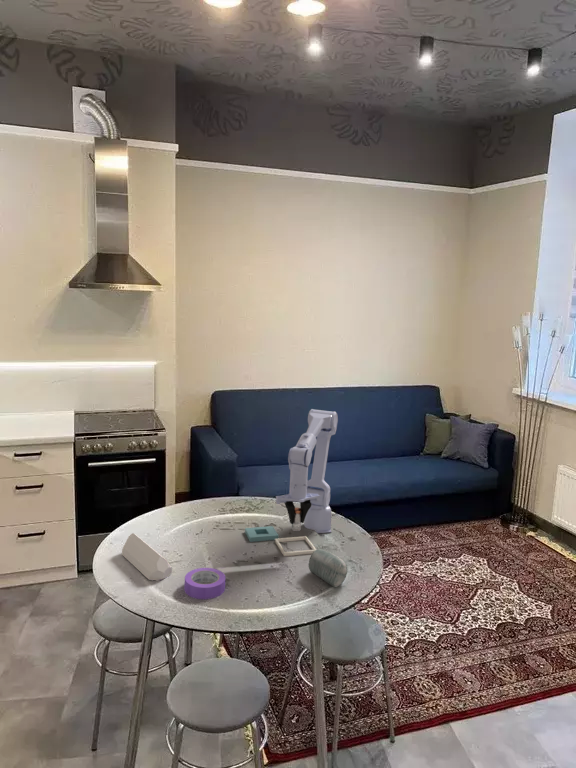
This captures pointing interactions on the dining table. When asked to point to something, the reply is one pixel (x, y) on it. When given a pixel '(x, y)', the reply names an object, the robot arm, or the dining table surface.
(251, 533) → the teal socket block
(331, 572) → the grey green streaked cylinder
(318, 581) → the dining table surface
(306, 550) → the tray
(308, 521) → the robot arm
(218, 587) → the masking tape
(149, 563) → the crystal
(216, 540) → the dining table surface
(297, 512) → the copper-capped cylinder
